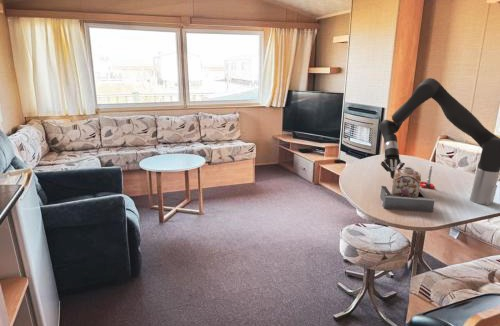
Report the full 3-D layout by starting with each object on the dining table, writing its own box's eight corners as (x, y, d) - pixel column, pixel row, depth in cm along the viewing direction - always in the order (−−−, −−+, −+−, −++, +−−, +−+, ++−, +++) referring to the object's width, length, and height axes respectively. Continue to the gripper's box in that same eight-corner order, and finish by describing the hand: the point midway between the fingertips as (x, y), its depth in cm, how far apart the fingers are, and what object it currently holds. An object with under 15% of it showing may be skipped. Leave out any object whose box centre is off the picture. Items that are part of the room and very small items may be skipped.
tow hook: (414, 182, 197) (420, 187, 188) (418, 161, 194) (423, 165, 185) (429, 184, 196) (436, 189, 187) (433, 162, 193) (440, 166, 184)
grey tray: (377, 196, 174) (378, 184, 172) (421, 199, 171) (423, 187, 169) (384, 208, 160) (385, 196, 158) (432, 212, 157) (435, 199, 155)
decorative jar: (415, 199, 171) (421, 166, 166) (416, 208, 161) (422, 173, 155) (390, 195, 175) (395, 163, 170) (389, 204, 165) (395, 169, 160)
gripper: (401, 154, 191) (404, 182, 183) (377, 153, 193) (379, 180, 185) (405, 148, 185) (408, 176, 177) (381, 146, 186) (383, 174, 178)
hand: (393, 178), depth 181 cm, fingers closed
